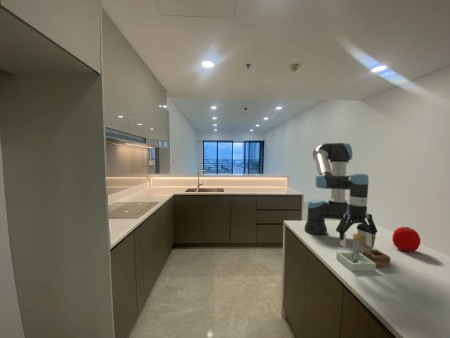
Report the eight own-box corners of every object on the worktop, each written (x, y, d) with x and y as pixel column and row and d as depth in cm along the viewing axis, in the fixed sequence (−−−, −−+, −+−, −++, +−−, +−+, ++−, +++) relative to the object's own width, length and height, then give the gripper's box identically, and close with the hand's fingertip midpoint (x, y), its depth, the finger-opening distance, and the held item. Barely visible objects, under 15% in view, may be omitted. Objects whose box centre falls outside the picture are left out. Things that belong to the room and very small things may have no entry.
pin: (350, 261, 102) (351, 233, 102) (355, 261, 103) (357, 233, 102) (354, 264, 100) (355, 235, 99) (359, 264, 100) (361, 235, 99)
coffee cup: (379, 256, 110) (381, 229, 109) (360, 254, 112) (361, 228, 111) (370, 248, 119) (371, 224, 118) (352, 246, 121) (353, 222, 120)
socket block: (362, 259, 107) (362, 250, 106) (376, 258, 107) (377, 249, 107) (374, 267, 99) (375, 257, 98) (389, 266, 99) (390, 257, 99)
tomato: (395, 251, 116) (396, 227, 115) (389, 243, 126) (390, 222, 125) (424, 256, 110) (425, 231, 109) (415, 248, 121) (416, 225, 120)
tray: (336, 258, 107) (336, 252, 107) (357, 258, 108) (357, 251, 107) (351, 271, 95) (352, 264, 95) (375, 270, 96) (375, 263, 95)
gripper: (338, 206, 95) (336, 249, 96) (388, 206, 96) (385, 248, 98) (329, 202, 102) (327, 242, 104) (375, 202, 104) (373, 242, 105)
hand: (355, 245), depth 101 cm, fingers open, 13 cm apart
